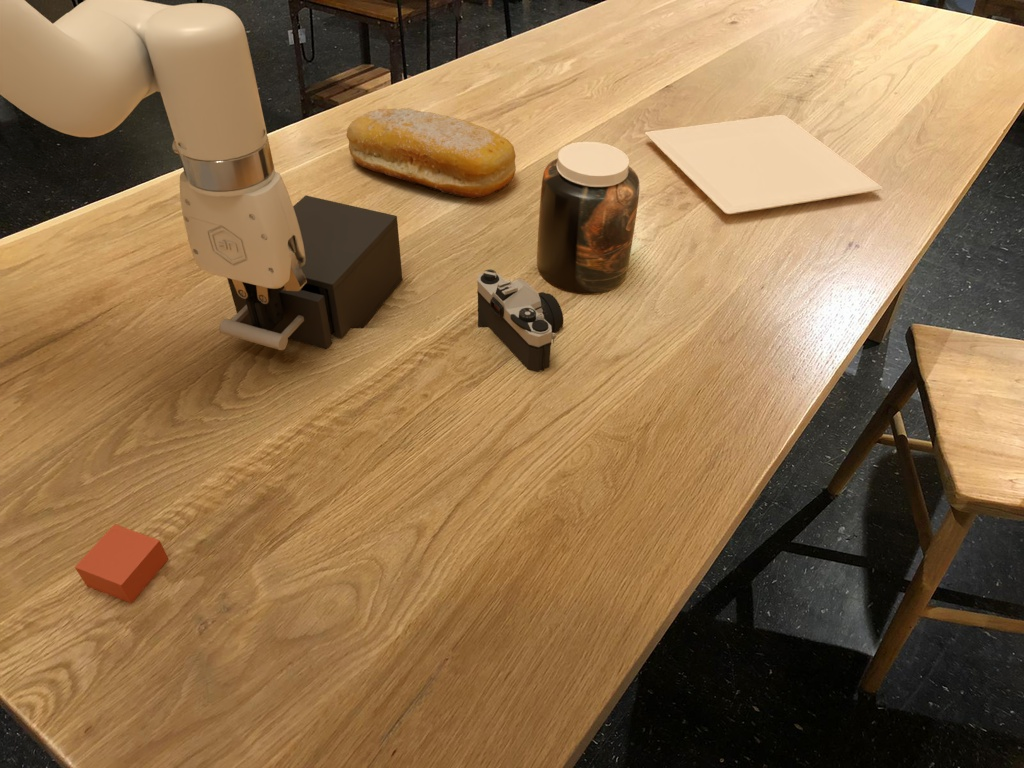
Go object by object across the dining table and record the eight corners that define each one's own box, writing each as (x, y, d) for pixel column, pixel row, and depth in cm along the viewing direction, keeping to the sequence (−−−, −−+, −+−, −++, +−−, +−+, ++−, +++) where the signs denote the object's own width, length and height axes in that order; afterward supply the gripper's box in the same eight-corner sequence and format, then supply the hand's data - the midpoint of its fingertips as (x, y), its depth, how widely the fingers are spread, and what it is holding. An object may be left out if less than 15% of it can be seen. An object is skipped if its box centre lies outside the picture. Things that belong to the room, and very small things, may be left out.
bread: (487, 214, 106) (488, 161, 101) (331, 170, 114) (323, 119, 109) (529, 174, 115) (531, 123, 110) (380, 135, 123) (376, 86, 118)
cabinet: (343, 351, 84) (332, 284, 78) (250, 325, 87) (232, 258, 81) (402, 280, 94) (397, 215, 88) (316, 259, 97) (305, 195, 91)
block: (138, 615, 61) (120, 585, 58) (94, 597, 62) (74, 567, 59) (175, 571, 64) (159, 540, 61) (131, 554, 65) (114, 523, 62)
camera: (590, 365, 84) (595, 295, 78) (532, 391, 80) (533, 320, 75) (522, 311, 92) (522, 244, 87) (467, 332, 89) (463, 264, 83)
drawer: (303, 385, 79) (291, 330, 74) (214, 359, 82) (196, 304, 77) (385, 287, 92) (380, 235, 87) (306, 267, 94) (296, 215, 89)
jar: (522, 280, 95) (527, 169, 85) (553, 234, 103) (561, 127, 93) (613, 303, 92) (630, 191, 82) (638, 254, 100) (656, 146, 90)
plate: (780, 124, 130) (784, 112, 129) (879, 199, 112) (884, 186, 111) (642, 142, 124) (644, 130, 122) (723, 225, 106) (726, 212, 104)
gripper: (128, 164, 66) (186, 329, 79) (277, 197, 63) (313, 364, 75) (184, 129, 71) (230, 289, 84) (324, 157, 68) (350, 320, 80)
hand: (269, 324), depth 80 cm, fingers closed
